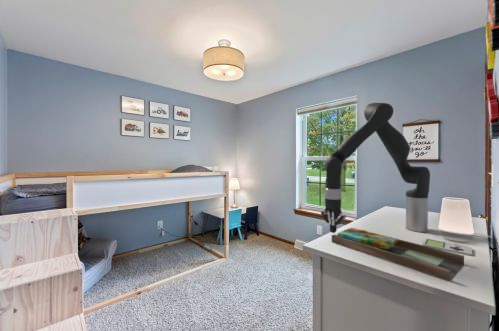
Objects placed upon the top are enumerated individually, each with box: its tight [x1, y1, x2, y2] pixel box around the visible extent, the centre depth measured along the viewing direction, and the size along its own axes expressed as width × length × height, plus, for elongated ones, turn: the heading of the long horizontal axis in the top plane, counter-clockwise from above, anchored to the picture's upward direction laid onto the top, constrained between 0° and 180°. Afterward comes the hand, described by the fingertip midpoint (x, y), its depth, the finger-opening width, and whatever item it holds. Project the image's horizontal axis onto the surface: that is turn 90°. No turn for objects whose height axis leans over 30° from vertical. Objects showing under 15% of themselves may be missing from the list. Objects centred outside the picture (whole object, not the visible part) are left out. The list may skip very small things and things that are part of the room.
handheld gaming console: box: [421, 237, 473, 257], centre depth 92 cm, size 10×2×15 cm
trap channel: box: [331, 227, 465, 282], centre depth 87 cm, size 18×40×3 cm, turn 35°
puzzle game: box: [337, 227, 399, 249], centre depth 95 cm, size 12×5×20 cm
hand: (333, 232), depth 108 cm, fingers closed
